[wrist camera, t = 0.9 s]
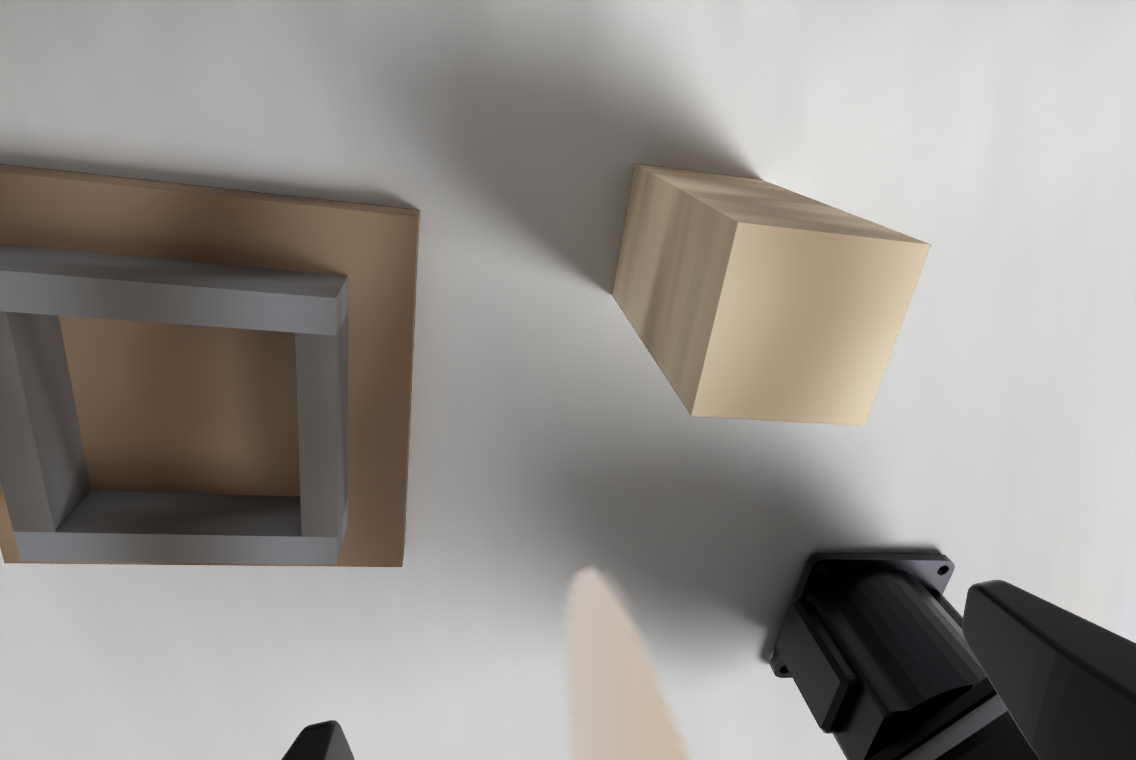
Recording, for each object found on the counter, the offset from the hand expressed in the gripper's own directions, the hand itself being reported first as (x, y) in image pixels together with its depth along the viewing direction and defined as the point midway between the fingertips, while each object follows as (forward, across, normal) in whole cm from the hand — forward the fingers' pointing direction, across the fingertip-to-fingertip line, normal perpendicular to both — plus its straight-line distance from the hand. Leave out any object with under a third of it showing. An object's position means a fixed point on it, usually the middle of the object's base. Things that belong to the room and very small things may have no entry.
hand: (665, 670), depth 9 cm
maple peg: (+13, -4, -2) cm, 14 cm away
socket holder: (+13, +11, 0) cm, 17 cm away
